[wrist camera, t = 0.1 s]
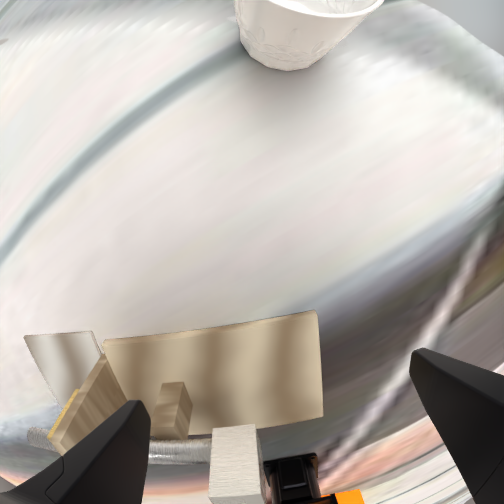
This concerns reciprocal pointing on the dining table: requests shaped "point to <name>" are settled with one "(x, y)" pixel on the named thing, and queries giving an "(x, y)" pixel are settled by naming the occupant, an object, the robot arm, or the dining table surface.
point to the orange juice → (349, 497)
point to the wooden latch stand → (187, 377)
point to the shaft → (208, 460)
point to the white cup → (297, 28)
